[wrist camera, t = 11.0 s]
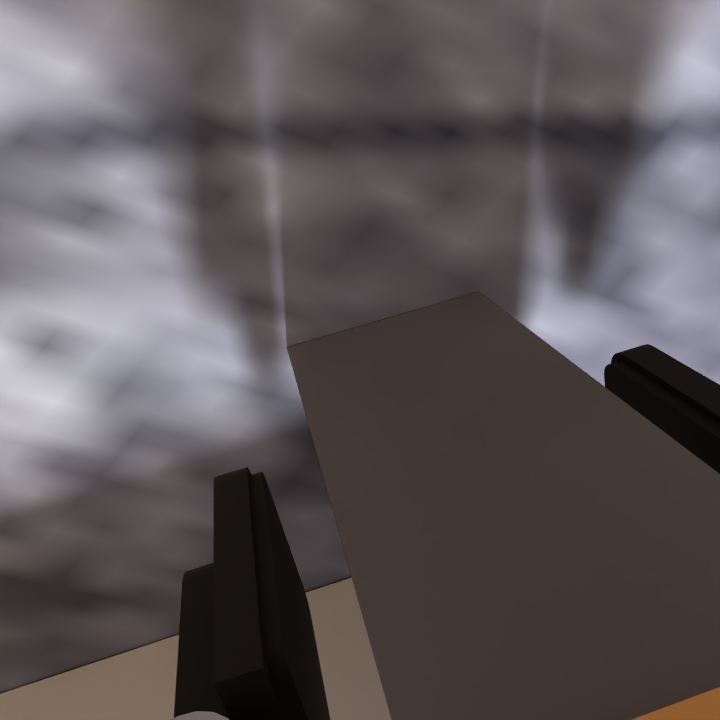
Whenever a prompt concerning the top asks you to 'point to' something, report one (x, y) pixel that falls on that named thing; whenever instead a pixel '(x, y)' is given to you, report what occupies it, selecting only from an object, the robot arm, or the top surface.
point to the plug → (513, 525)
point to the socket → (159, 668)
